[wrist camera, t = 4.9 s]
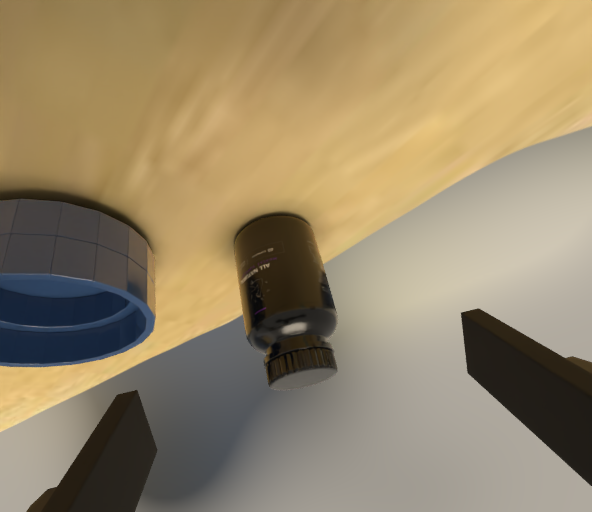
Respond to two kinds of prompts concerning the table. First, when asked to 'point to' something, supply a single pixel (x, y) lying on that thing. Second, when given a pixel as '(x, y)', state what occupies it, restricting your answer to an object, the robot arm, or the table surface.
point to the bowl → (71, 284)
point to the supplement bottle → (286, 301)
